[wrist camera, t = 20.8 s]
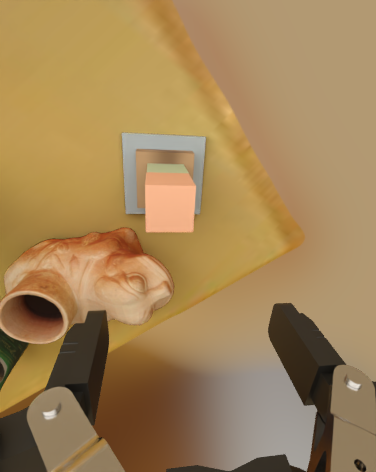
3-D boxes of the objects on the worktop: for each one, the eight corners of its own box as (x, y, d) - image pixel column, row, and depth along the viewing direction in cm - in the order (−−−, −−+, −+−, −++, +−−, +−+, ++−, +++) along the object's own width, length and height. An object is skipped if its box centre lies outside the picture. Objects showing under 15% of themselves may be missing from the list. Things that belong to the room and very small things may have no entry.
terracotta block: (146, 212, 33) (145, 232, 28) (146, 172, 31) (145, 185, 25) (186, 212, 34) (193, 232, 28) (188, 173, 32) (196, 186, 26)
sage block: (147, 163, 36) (146, 172, 31) (183, 164, 37) (189, 173, 32) (148, 198, 38) (147, 212, 33) (182, 198, 39) (187, 212, 34)
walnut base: (138, 201, 41) (137, 208, 39) (136, 148, 38) (135, 151, 35) (188, 202, 43) (191, 208, 40) (191, 150, 39) (194, 153, 37)
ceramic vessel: (175, 281, 50) (184, 342, 37) (36, 308, 49) (-7, 383, 36) (161, 213, 44) (166, 258, 31) (2, 243, 43) (-65, 303, 29)
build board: (126, 211, 43) (125, 213, 42) (122, 132, 38) (121, 133, 37) (198, 211, 45) (200, 214, 44) (204, 136, 40) (205, 137, 39)
